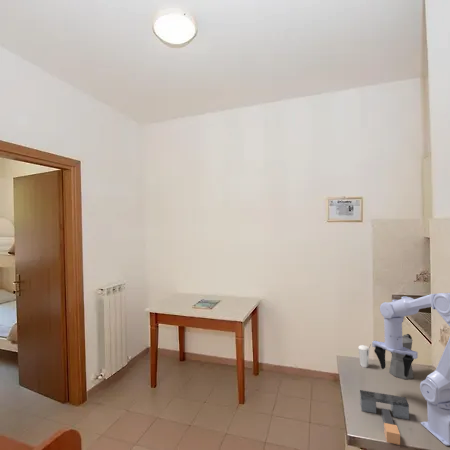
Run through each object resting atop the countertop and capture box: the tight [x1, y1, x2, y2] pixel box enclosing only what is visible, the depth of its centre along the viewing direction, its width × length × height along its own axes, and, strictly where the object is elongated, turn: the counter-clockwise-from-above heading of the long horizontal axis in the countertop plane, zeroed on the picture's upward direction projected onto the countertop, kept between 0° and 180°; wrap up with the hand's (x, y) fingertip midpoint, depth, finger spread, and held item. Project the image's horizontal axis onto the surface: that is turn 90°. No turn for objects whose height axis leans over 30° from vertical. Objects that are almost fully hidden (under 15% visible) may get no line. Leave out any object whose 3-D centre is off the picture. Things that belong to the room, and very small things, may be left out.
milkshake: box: [357, 343, 372, 369], centre depth 127 cm, size 4×5×10 cm
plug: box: [380, 407, 401, 446], centre depth 86 cm, size 12×3×3 cm, turn 160°
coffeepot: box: [388, 333, 414, 380], centre depth 120 cm, size 15×9×18 cm, turn 121°
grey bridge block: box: [359, 389, 410, 421], centre depth 95 cm, size 4×14×5 cm, turn 70°
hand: (394, 371), depth 103 cm, fingers open, 7 cm apart
